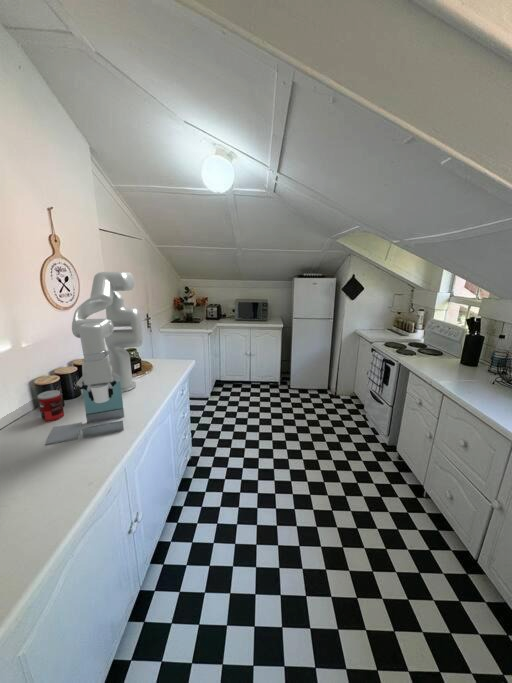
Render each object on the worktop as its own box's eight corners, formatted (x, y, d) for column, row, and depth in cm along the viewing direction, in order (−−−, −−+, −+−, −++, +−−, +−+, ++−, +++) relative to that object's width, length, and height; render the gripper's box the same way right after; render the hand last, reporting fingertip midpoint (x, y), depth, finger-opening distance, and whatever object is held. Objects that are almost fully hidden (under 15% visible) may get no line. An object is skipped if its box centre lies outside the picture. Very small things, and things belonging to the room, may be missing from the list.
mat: (53, 428, 114) (53, 427, 114) (82, 423, 118) (81, 422, 118) (45, 445, 104) (45, 444, 104) (77, 439, 108) (77, 437, 107)
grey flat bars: (87, 422, 119) (86, 414, 118) (124, 415, 124) (123, 407, 123) (83, 437, 108) (81, 429, 107) (123, 430, 114) (122, 421, 113)
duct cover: (86, 414, 117) (86, 413, 118) (123, 408, 123) (123, 407, 124) (82, 385, 116) (82, 385, 117) (120, 380, 122) (120, 380, 122)
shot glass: (103, 404, 110) (101, 388, 108) (88, 402, 111) (85, 386, 109) (115, 396, 117) (113, 380, 115) (100, 394, 118) (98, 379, 116)
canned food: (45, 414, 125) (40, 391, 122) (66, 411, 127) (62, 388, 124) (39, 423, 118) (34, 399, 115) (62, 420, 120) (57, 396, 118)
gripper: (120, 350, 115) (125, 390, 120) (70, 354, 109) (78, 397, 114) (119, 356, 108) (125, 398, 114) (66, 361, 102) (75, 406, 107)
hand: (101, 397), depth 114 cm, fingers closed on shot glass, 5 cm apart
